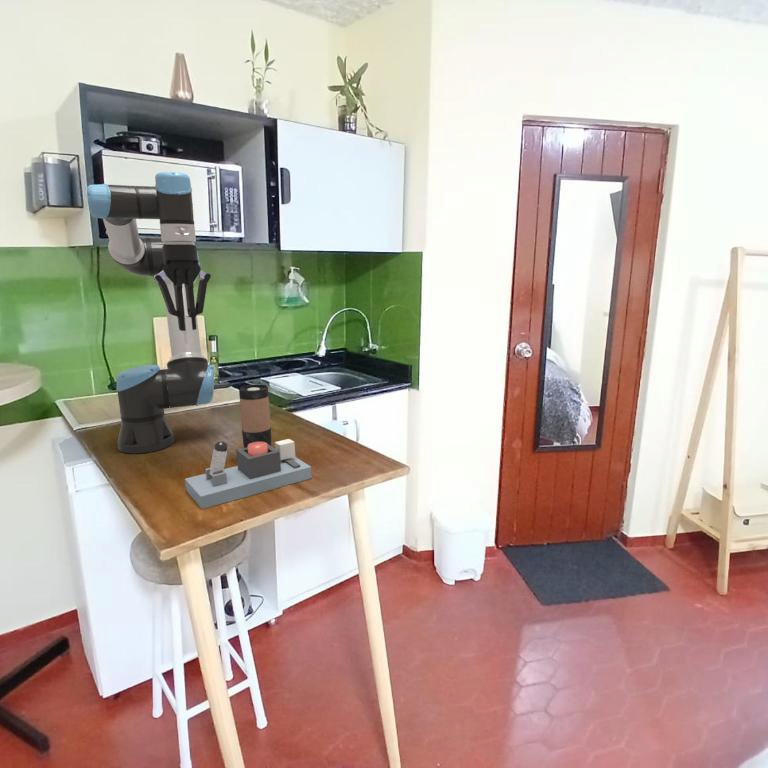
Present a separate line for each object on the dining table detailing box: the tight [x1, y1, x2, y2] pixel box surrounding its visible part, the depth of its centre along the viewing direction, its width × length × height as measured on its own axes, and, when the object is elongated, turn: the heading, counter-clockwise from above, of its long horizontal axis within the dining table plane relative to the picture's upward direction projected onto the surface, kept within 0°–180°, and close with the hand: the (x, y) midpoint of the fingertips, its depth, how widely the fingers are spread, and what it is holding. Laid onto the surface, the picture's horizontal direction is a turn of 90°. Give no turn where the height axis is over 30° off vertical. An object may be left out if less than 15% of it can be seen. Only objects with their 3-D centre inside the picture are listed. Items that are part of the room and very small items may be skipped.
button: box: [248, 442, 268, 456], centre depth 125 cm, size 5×5×6 cm
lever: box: [209, 441, 228, 476], centre depth 119 cm, size 3×3×8 cm
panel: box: [184, 444, 313, 510], centre depth 124 cm, size 12×27×8 cm, turn 126°
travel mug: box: [238, 383, 273, 448], centre depth 140 cm, size 8×8×20 cm
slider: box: [274, 438, 296, 460], centre depth 131 cm, size 3×4×4 cm
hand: (189, 343), depth 127 cm, fingers closed
